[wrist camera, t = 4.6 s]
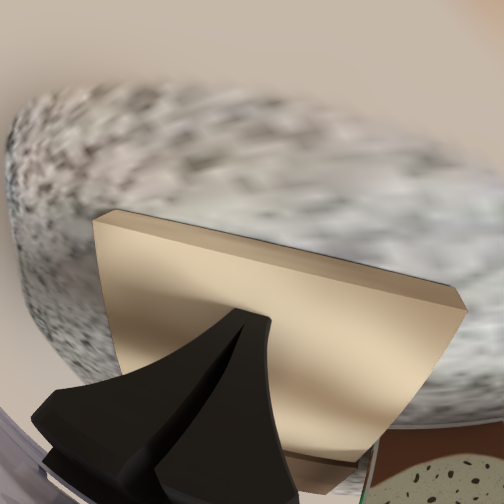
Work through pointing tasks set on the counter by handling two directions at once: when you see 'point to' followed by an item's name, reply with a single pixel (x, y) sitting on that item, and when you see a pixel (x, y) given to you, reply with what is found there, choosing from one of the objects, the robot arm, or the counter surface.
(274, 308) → the oak plank
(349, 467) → the walnut board
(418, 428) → the food container
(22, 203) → the counter surface
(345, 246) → the counter surface
